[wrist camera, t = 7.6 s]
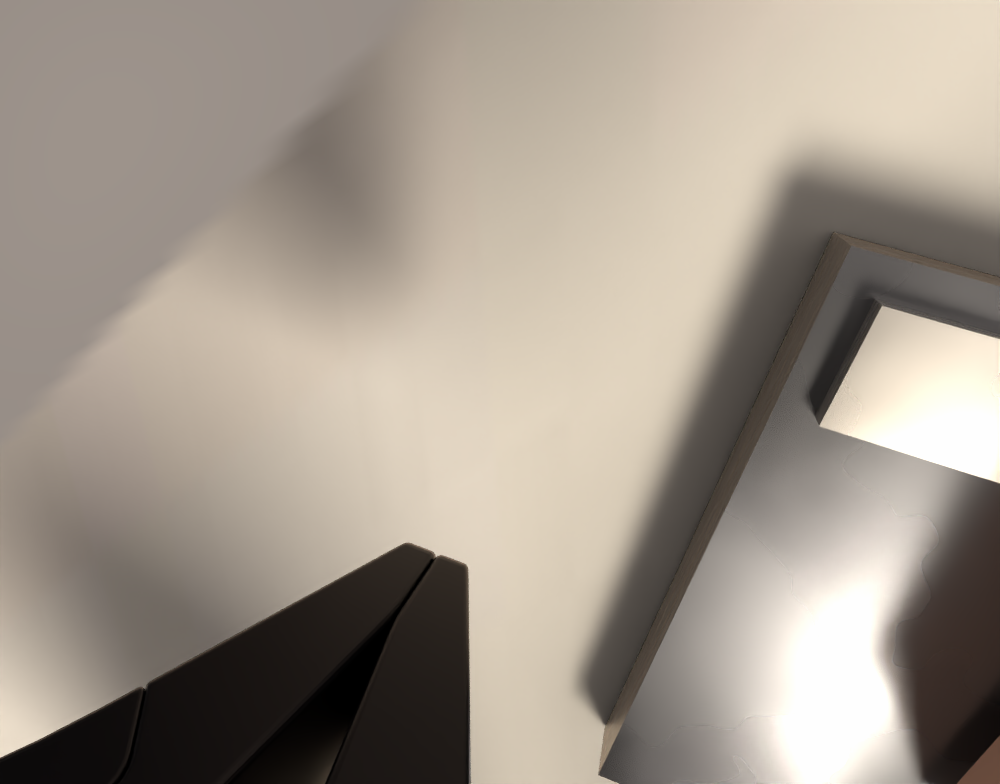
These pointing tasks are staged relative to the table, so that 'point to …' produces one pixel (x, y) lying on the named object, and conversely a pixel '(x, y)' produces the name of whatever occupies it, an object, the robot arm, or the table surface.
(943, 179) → the table surface
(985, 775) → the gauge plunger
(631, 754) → the frame
